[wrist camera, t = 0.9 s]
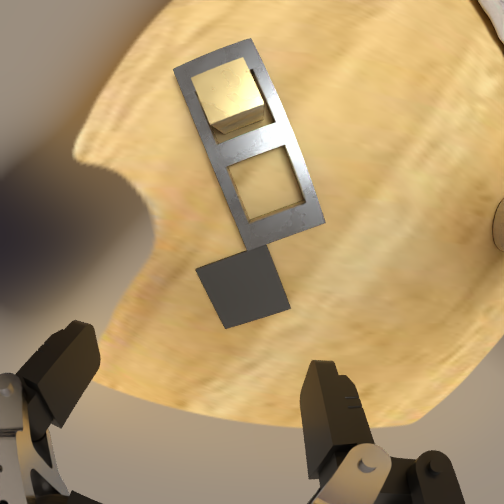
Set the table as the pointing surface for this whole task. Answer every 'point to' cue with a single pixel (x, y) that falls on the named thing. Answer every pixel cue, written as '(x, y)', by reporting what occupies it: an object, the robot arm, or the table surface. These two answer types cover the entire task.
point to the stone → (495, 15)
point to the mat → (244, 287)
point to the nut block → (229, 96)
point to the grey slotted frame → (252, 149)
